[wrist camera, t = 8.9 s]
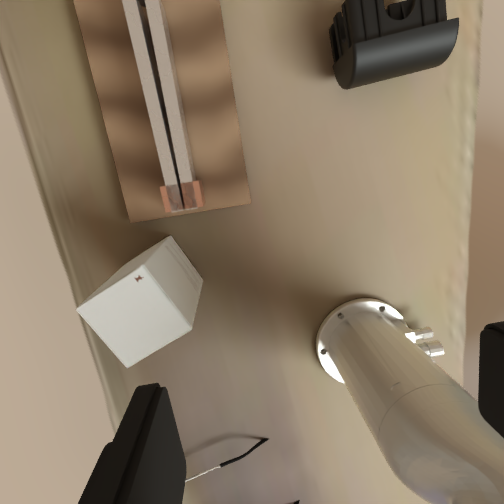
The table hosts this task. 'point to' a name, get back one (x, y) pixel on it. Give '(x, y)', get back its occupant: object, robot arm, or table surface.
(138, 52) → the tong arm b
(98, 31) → the tong board
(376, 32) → the end cap
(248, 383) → the table surface
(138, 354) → the supplement box
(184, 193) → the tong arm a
